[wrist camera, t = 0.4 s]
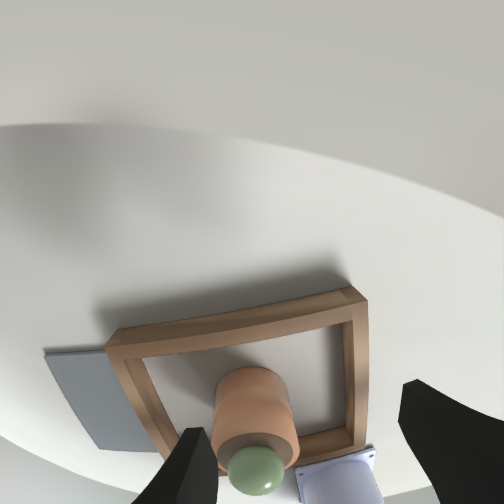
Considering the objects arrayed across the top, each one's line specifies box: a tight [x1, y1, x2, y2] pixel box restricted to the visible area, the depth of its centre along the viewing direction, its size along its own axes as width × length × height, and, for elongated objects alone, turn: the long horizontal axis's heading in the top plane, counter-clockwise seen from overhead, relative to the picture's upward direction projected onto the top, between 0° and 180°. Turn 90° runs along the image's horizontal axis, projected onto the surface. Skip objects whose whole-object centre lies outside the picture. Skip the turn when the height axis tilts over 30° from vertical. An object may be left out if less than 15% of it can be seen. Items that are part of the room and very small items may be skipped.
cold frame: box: [104, 286, 369, 476], centre depth 19 cm, size 14×16×2 cm
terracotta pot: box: [211, 367, 300, 496], centre depth 16 cm, size 5×5×9 cm
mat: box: [44, 350, 159, 452], centre depth 20 cm, size 11×7×1 cm, turn 11°
